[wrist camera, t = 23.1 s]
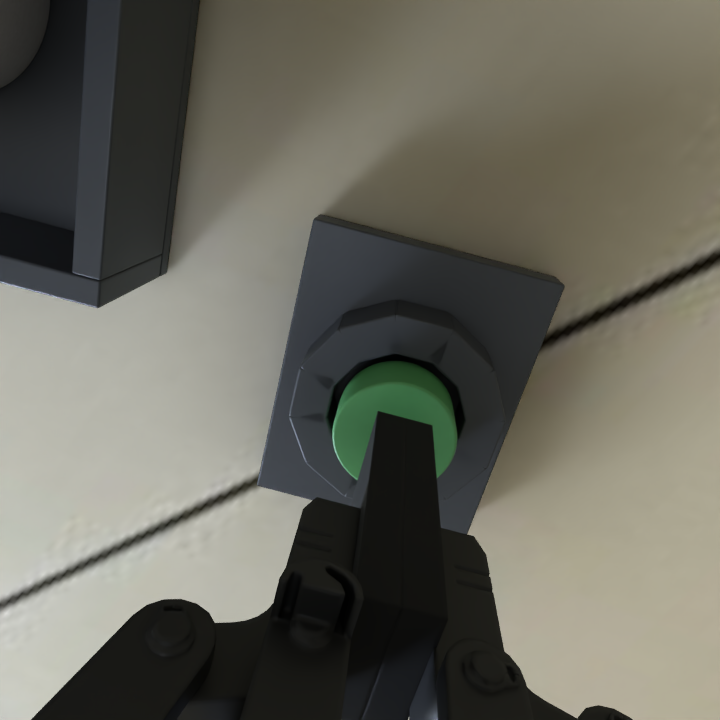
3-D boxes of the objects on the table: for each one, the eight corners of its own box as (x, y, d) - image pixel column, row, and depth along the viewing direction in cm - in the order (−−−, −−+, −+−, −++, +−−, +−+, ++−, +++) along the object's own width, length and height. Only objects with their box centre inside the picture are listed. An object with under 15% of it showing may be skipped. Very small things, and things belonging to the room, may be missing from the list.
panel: (319, 213, 18) (302, 225, 15) (556, 276, 18) (582, 300, 16) (264, 469, 22) (242, 515, 19) (462, 520, 22) (469, 575, 19)
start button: (353, 346, 17) (347, 367, 15) (468, 376, 17) (474, 401, 15) (327, 446, 18) (319, 475, 17) (434, 474, 18) (436, 506, 17)
